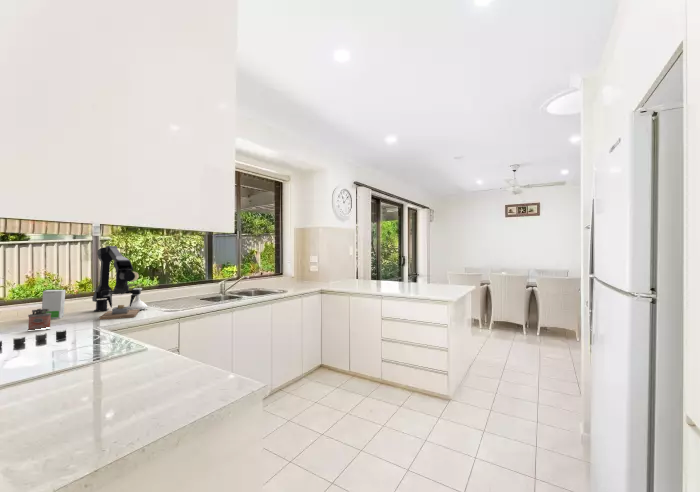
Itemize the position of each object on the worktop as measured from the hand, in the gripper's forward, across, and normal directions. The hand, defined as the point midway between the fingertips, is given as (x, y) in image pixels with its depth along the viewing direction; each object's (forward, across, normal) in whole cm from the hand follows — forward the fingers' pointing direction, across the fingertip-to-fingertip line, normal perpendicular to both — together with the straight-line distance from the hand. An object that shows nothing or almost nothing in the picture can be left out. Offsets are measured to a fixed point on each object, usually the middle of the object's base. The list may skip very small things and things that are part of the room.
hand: (120, 306), depth 186 cm
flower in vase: (+5, +5, +19) cm, 20 cm away
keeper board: (+5, 0, 0) cm, 5 cm away
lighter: (+5, -27, -28) cm, 39 cm away
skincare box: (+5, -32, +6) cm, 33 cm away
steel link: (+4, 0, 0) cm, 4 cm away
